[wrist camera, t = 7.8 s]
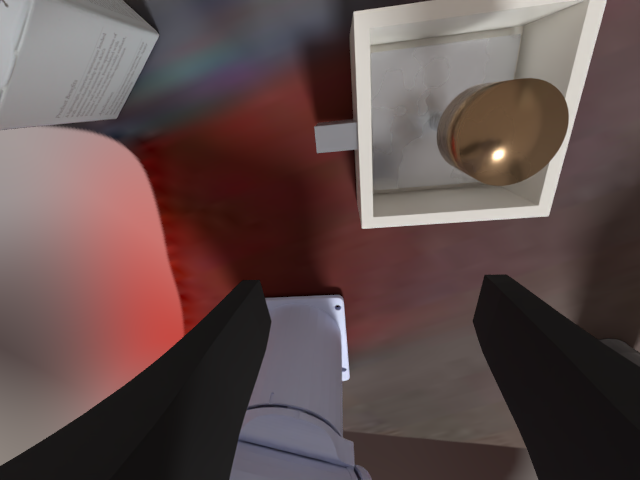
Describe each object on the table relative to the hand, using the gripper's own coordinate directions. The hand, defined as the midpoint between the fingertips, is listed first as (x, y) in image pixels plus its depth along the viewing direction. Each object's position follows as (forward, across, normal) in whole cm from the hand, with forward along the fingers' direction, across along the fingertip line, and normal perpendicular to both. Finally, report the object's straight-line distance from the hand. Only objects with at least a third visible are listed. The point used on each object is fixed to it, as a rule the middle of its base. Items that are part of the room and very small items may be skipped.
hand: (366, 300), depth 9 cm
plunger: (+11, -4, -3) cm, 12 cm away
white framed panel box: (+11, -4, -3) cm, 12 cm away
